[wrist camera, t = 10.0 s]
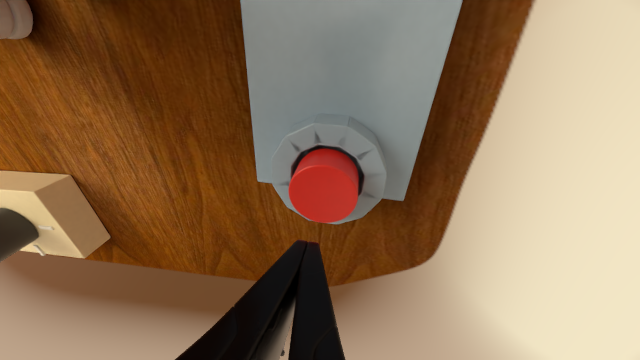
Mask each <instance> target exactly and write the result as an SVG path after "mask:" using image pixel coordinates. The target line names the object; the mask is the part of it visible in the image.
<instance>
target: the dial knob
mask: <svg viewBox="0 0 640 360" xmlns="http://www.w3.org/2000/svg"><path fill="white" fill-rule="evenodd" d="M37 238H38V232H37V230H36V229H35V227H34V226H33V225H32V224H31V223H30V222H29V221H28V220H26V219H25V218H24V217H22V216H21V215H19V214H17V213H16V212H13V211H11V210H8V209H5V208H0V262H1V261H3V260H4V259H6V258H8V257H9V256H11V255H12V254H14V253H16V252H17V251H19V250H20V249H22V248H24V247H25V246H27V245H28V244H30V243H32V242H33V241H35V240H36V239H37Z"/></svg>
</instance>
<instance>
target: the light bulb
mask: <svg viewBox="0 0 640 360" xmlns="http://www.w3.org/2000/svg"><path fill="white" fill-rule="evenodd" d="M32 25H33V15H32V12H31V9H30V6H29V4H28V3H27V1H26V0H0V39H4V38H9V39H22V38H25V37H27V36H28V35H29V34H30V33H31V31H32Z"/></svg>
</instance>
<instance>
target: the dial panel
mask: <svg viewBox="0 0 640 360" xmlns="http://www.w3.org/2000/svg"><path fill="white" fill-rule="evenodd" d="M0 208H5V209H8V210H11V211H13V212H16V213H17V214H19V215H21V216H22V217H24V218H25V219H26V220H28V221H29V222H30V223H31V224H32V225H33V226H34V227H35V229H36V230H37V232H38V238H37V239H36V240H35V241H33V242H32V243H30V244H28V245H27V246H25V247H24V248H22V249H20V251H29V252H37V253H40V254H41V255H42V256H45V255H46V254H53V255H61V256H69V257H78V258H86V257H87V256H88V255H90V254H91V253H92V252H93V251H95V250H96V249H97V248H98V247H100V246H101V245H102V244H103V243H105V242H106V241H107V240H108V239H110V238H111V236H110V235H109V233H108V232H107V230H106V229H105V227H104V226H103V224H102V223H101V221H100V220H99V218H98V216H97V215H96V213H95V212H94V210H93V209H92V207H91V206H90V204H89V203H88V201H87V200H86V198H85V196H84V195H83V193H82V192H81V190H80V189H79V187H78V186H77V184H76V183H75V181H74V179H73V178H72V176H71V175H65V174H49V173H33V172H16V171H0Z"/></svg>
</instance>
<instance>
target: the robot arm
mask: <svg viewBox="0 0 640 360" xmlns="http://www.w3.org/2000/svg"><path fill="white" fill-rule="evenodd" d="M234 307H235V308H234ZM234 307H232V308H231V309H230V310H229V311H228V312H227V313H226V314H225V315H224V316H223V317H222V318H221V319H220V320H219V321H218V322H217V323H216V324H215V325H214V326H213V327H212V328H211V329H210V330H208V331H207V332H206V333H205V334H204V335H203V336H202V337H201V338H200V339H198V340H197V341H196V342H195V343H194V344H193V345H192V346H190V347H189V348H188V349H187V350H186V351H185V352H184V353H182V354H181V355H180V356H179V357H178V358H176V359H175V360H279V359H280V356H283V355H284V353H285V352H284V350H283V347H284V343H285V340H286V337H287V334H288V331H289V328H290V325H291V322H292V319H293V326H292V334H291V342H290V350H289V358H288V360H345V357H344V353H343V349H342V345H341V341H340V337H339V332H338V328H337V324H336V319H335V315H334V311H333V306H332V301H331V297H330V292H329V288H328V283H327V279H326V274H325V270H324V265H323V261H322V256H321V252H320V247H319V244H318V243H316V242H307V241H303V240H297V241H296V242H295V243H294V244H293V245H292V246H291V247H290V248H289V249H288V250H287V251H286V252H285V253H284V254H283V255H282V256H281V257H280V258H279V259H278V260H277V261H276V262H275V263H274V264H273V265H272V266H271V268H270V269H269V270H268V271H267V272H266V273H265V274H264V275H263V276H262V277H261V278H260V279H259V280H258V281H257V282H256V283H255V284H254V285H253V286H252V287H251V288H250V289H249V290H248V291H247V292H246V293H245V294H244V296H243V297H241V298H240V300H239V301H238V302H237V303H236V304H235V305H234ZM293 316H294V318H293Z"/></svg>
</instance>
